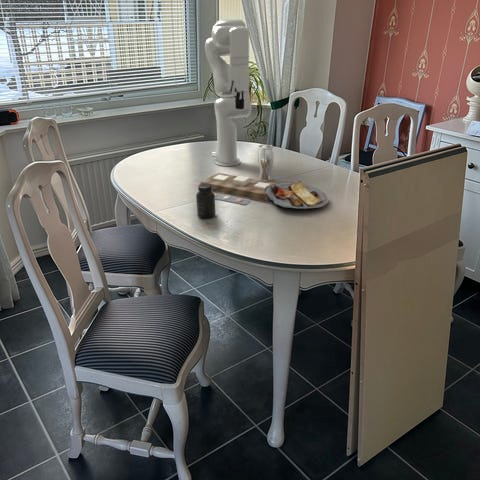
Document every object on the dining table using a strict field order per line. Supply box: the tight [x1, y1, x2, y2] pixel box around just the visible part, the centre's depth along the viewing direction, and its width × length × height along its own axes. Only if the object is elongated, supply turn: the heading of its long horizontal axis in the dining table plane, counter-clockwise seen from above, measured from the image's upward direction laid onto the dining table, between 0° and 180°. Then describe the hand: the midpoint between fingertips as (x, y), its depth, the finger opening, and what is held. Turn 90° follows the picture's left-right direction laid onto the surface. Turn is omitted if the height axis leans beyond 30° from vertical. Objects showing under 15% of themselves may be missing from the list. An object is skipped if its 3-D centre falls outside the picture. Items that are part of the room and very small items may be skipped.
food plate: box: [265, 180, 329, 210], centre depth 186 cm, size 25×23×4 cm
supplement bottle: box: [195, 183, 216, 220], centre depth 172 cm, size 7×7×12 cm
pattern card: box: [214, 192, 252, 206], centre depth 190 cm, size 20×5×1 cm, turn 60°
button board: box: [200, 172, 277, 203], centre depth 198 cm, size 32×14×3 cm, turn 60°
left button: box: [213, 175, 229, 183], centre depth 202 cm, size 5×5×3 cm
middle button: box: [233, 175, 251, 186], centre depth 198 cm, size 5×5×3 cm
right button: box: [254, 182, 271, 190], centre depth 194 cm, size 5×5×3 cm
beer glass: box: [257, 144, 275, 182], centre depth 208 cm, size 7×7×15 cm
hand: (239, 108), depth 193 cm, fingers closed
